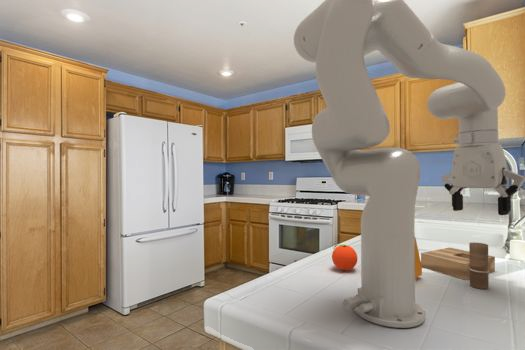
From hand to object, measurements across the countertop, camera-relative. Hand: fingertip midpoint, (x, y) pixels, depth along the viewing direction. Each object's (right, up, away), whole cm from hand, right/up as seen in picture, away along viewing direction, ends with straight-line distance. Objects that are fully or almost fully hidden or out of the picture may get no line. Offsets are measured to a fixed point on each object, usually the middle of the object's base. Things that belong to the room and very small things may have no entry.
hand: (479, 212), depth 70 cm
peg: (0, -18, 0) cm, 18 cm away
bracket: (-17, -18, +6) cm, 25 cm away
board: (+3, -18, +13) cm, 22 cm away
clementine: (-29, -18, +13) cm, 36 cm away
